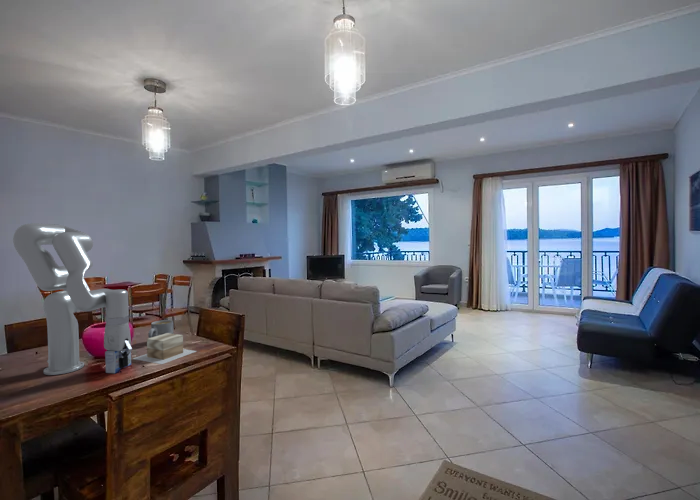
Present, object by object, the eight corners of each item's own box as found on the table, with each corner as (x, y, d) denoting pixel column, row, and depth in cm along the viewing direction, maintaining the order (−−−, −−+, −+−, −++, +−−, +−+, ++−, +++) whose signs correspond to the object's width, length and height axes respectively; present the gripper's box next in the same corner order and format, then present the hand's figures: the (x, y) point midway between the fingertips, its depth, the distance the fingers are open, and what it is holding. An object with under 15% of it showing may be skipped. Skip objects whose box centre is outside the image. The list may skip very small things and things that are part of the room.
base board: (132, 360, 148) (132, 358, 148) (168, 348, 165) (168, 346, 165) (161, 366, 141) (161, 364, 141) (197, 353, 157) (197, 351, 157)
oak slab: (147, 356, 150) (147, 347, 150) (167, 350, 159) (167, 341, 159) (163, 359, 146) (163, 350, 146) (183, 352, 155) (183, 343, 155)
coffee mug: (164, 338, 184) (164, 319, 183) (177, 340, 180) (177, 320, 179) (140, 344, 172) (140, 324, 171) (153, 347, 167) (153, 326, 167)
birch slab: (147, 347, 150) (146, 338, 150) (167, 341, 159) (167, 333, 159) (163, 350, 146) (163, 341, 146) (183, 343, 155) (182, 335, 155)
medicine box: (114, 373, 133) (114, 351, 133) (105, 373, 134) (104, 351, 134) (131, 366, 141) (131, 345, 141) (122, 365, 142) (122, 345, 142)
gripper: (94, 321, 137) (95, 366, 138) (122, 324, 131) (123, 372, 131) (113, 317, 144) (114, 360, 145) (141, 320, 137) (142, 365, 138)
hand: (118, 365), depth 138 cm, fingers closed on medicine box, 5 cm apart
